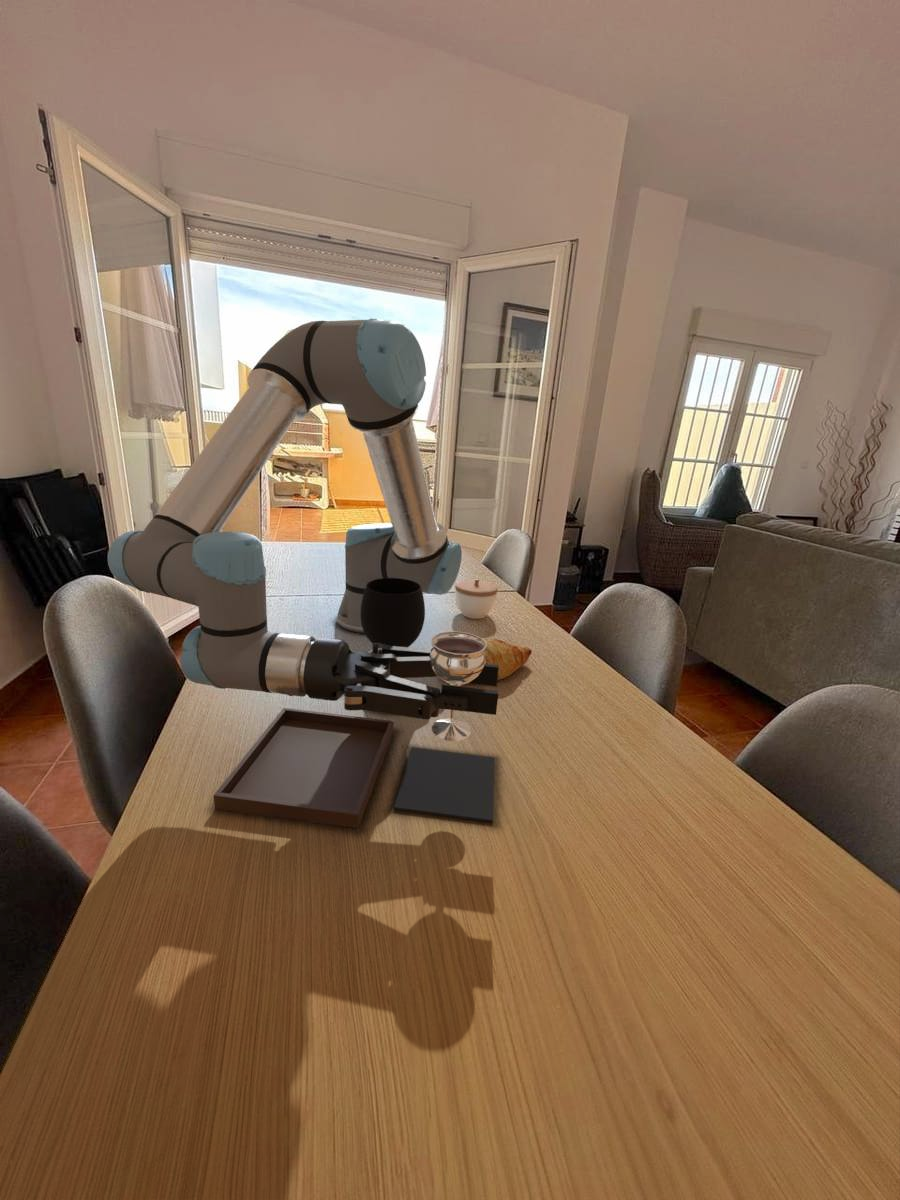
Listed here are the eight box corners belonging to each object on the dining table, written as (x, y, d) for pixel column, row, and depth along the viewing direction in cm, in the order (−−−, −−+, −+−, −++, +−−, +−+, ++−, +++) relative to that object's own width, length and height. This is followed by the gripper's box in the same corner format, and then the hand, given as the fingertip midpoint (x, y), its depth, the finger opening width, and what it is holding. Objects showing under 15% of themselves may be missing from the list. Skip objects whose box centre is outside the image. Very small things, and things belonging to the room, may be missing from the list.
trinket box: (496, 623, 119) (500, 587, 116) (452, 620, 119) (455, 584, 116) (492, 608, 129) (496, 575, 126) (453, 605, 129) (455, 572, 126)
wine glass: (412, 716, 78) (418, 599, 71) (350, 707, 79) (351, 591, 72) (425, 685, 87) (432, 580, 81) (370, 677, 89) (372, 573, 82)
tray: (284, 718, 75) (283, 707, 74) (393, 732, 73) (393, 720, 73) (214, 809, 56) (213, 795, 56) (358, 828, 55) (358, 814, 55)
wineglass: (414, 733, 59) (419, 644, 55) (440, 709, 65) (446, 627, 61) (463, 752, 57) (473, 660, 53) (486, 724, 62) (496, 640, 58)
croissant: (447, 706, 88) (461, 681, 82) (424, 662, 93) (435, 636, 88) (534, 679, 99) (551, 656, 93) (509, 642, 104) (524, 618, 99)
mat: (411, 749, 70) (411, 747, 70) (493, 759, 69) (494, 757, 69) (393, 809, 58) (394, 807, 58) (492, 822, 58) (492, 820, 57)
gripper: (336, 661, 70) (495, 679, 69) (280, 737, 52) (493, 764, 51) (336, 613, 68) (500, 630, 66) (277, 675, 50) (500, 701, 48)
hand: (497, 688), depth 58 cm, fingers closed on wineglass, 6 cm apart
